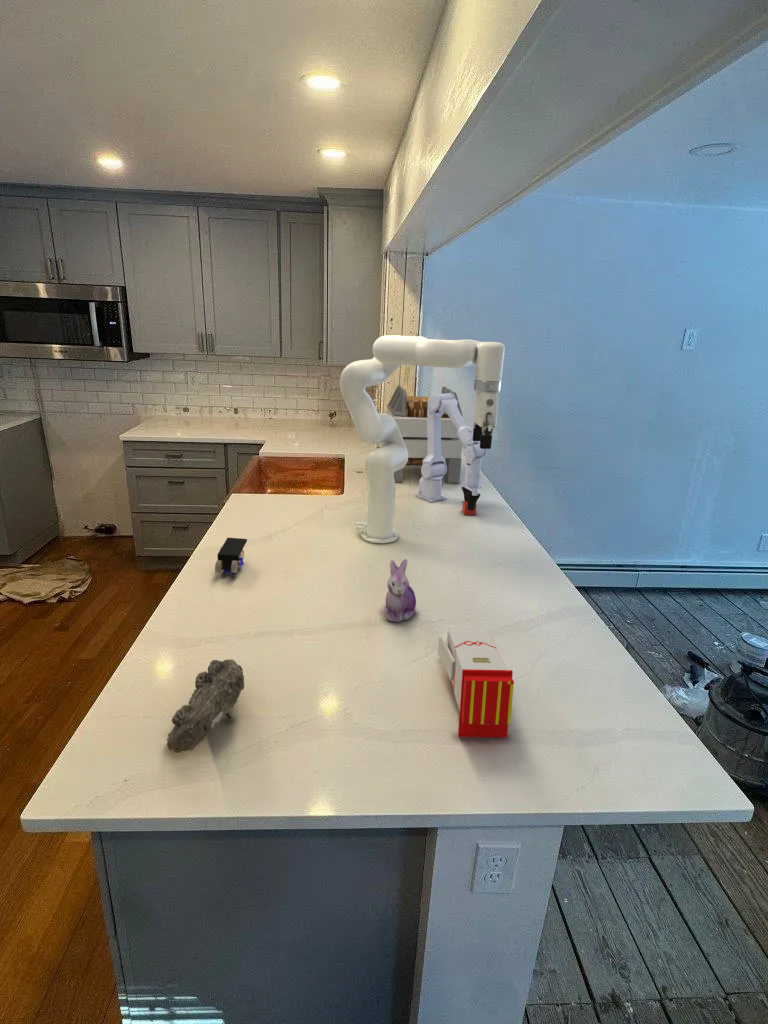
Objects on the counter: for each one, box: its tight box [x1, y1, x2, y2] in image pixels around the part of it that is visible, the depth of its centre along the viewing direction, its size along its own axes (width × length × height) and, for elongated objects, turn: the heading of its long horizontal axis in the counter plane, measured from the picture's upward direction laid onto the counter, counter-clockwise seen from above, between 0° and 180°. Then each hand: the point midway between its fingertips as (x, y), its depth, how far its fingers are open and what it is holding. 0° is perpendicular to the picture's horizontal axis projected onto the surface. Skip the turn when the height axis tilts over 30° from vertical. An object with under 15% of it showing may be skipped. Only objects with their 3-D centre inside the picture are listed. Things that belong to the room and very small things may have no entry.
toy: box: [437, 628, 515, 738], centre depth 117 cm, size 12×13×30 cm
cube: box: [461, 500, 478, 516], centre depth 223 cm, size 4×5×4 cm
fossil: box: [166, 658, 245, 754], centre depth 106 cm, size 22×10×15 cm
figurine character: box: [214, 537, 248, 578], centre depth 166 cm, size 7×8×15 cm
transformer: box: [386, 384, 465, 484], centre depth 268 cm, size 34×33×41 cm
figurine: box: [384, 558, 417, 623], centre depth 145 cm, size 9×10×15 cm
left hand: (481, 444), depth 169 cm, fingers open, 9 cm apart
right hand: (469, 507), depth 223 cm, fingers open, 5 cm apart
